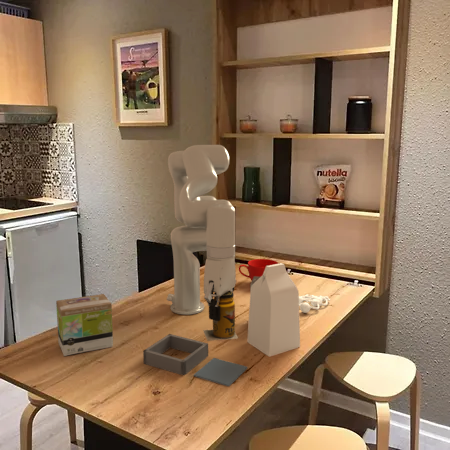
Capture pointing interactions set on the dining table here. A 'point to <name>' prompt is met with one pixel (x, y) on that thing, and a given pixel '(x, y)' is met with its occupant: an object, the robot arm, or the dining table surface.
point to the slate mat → (220, 371)
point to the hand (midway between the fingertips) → (221, 314)
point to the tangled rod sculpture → (312, 302)
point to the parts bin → (173, 364)
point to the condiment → (224, 320)
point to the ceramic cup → (257, 267)
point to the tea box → (84, 324)
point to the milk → (274, 312)
